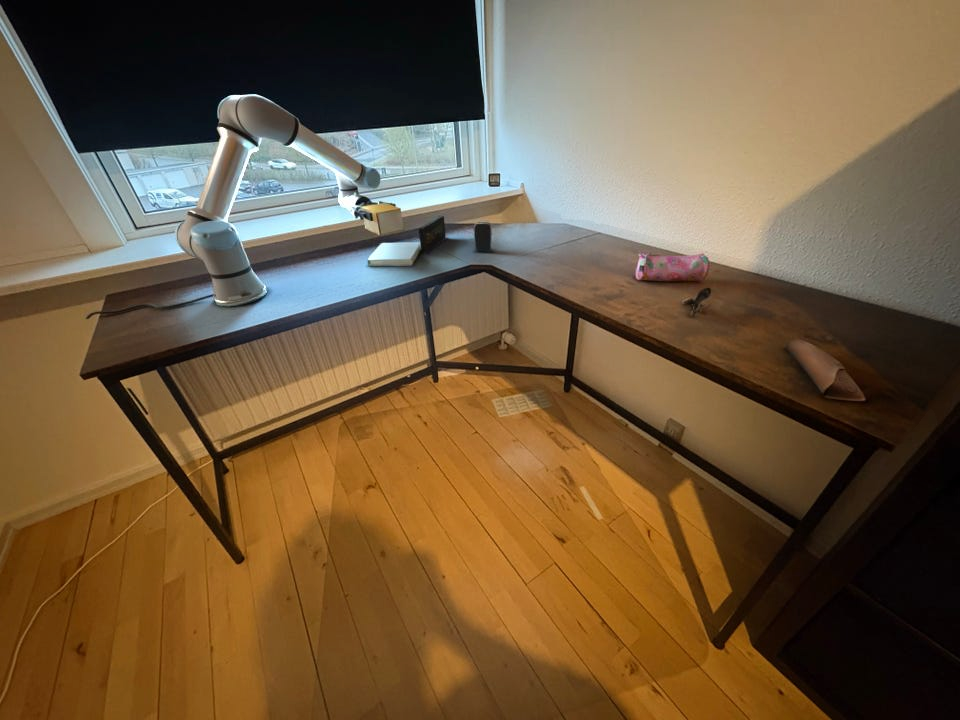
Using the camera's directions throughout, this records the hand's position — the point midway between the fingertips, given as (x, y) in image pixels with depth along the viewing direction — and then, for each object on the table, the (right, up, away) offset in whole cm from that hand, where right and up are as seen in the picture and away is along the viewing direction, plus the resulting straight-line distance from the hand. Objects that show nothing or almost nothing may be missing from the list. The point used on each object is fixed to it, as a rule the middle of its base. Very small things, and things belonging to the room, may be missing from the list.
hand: (384, 214), depth 140 cm
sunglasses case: (+110, -57, -57) cm, 137 cm away
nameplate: (+15, -4, +24) cm, 29 cm away
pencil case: (+98, -28, -14) cm, 103 cm away
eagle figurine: (+97, -40, -32) cm, 110 cm away
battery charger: (+37, -9, +16) cm, 41 cm away
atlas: (+1, -12, +13) cm, 18 cm away
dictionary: (-2, -4, +5) cm, 7 cm away
